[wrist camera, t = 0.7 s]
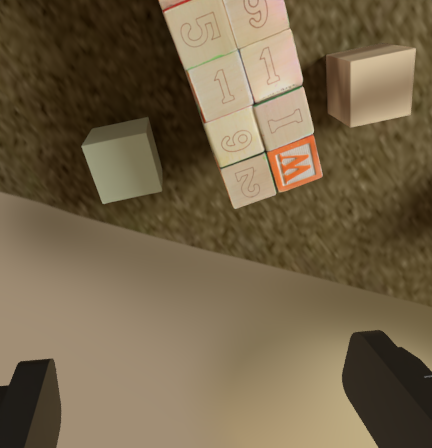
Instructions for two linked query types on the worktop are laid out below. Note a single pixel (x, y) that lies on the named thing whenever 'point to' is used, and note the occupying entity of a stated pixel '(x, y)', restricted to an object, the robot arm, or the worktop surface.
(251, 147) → the stack of blocks
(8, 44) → the worktop surface
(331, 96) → the birch cube
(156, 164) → the sage cube
